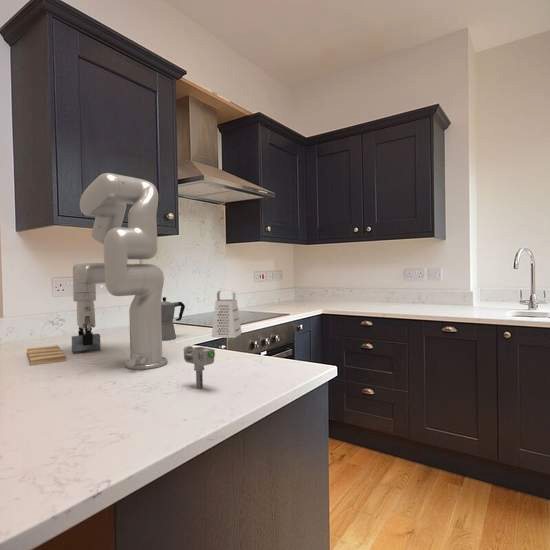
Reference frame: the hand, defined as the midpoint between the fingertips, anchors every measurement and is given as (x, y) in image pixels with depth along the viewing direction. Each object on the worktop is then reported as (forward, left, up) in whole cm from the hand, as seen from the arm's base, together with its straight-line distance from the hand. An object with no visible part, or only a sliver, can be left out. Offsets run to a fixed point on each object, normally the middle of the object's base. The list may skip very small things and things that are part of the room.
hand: (85, 342), depth 143 cm
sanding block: (0, 0, -3) cm, 3 cm away
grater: (+27, -50, -3) cm, 57 cm away
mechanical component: (-48, -51, -3) cm, 70 cm away
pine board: (-8, +10, -3) cm, 13 cm away
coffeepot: (+22, -25, -3) cm, 33 cm away
